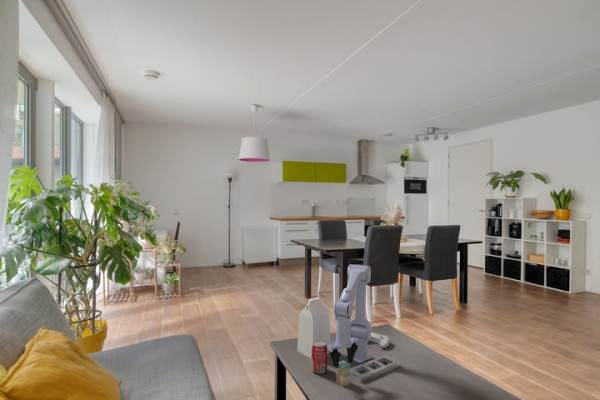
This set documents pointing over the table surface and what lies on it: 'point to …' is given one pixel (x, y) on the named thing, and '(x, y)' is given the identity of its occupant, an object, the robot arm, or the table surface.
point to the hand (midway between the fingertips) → (343, 364)
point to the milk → (313, 326)
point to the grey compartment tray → (370, 372)
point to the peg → (343, 373)
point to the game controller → (379, 339)
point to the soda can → (319, 357)
